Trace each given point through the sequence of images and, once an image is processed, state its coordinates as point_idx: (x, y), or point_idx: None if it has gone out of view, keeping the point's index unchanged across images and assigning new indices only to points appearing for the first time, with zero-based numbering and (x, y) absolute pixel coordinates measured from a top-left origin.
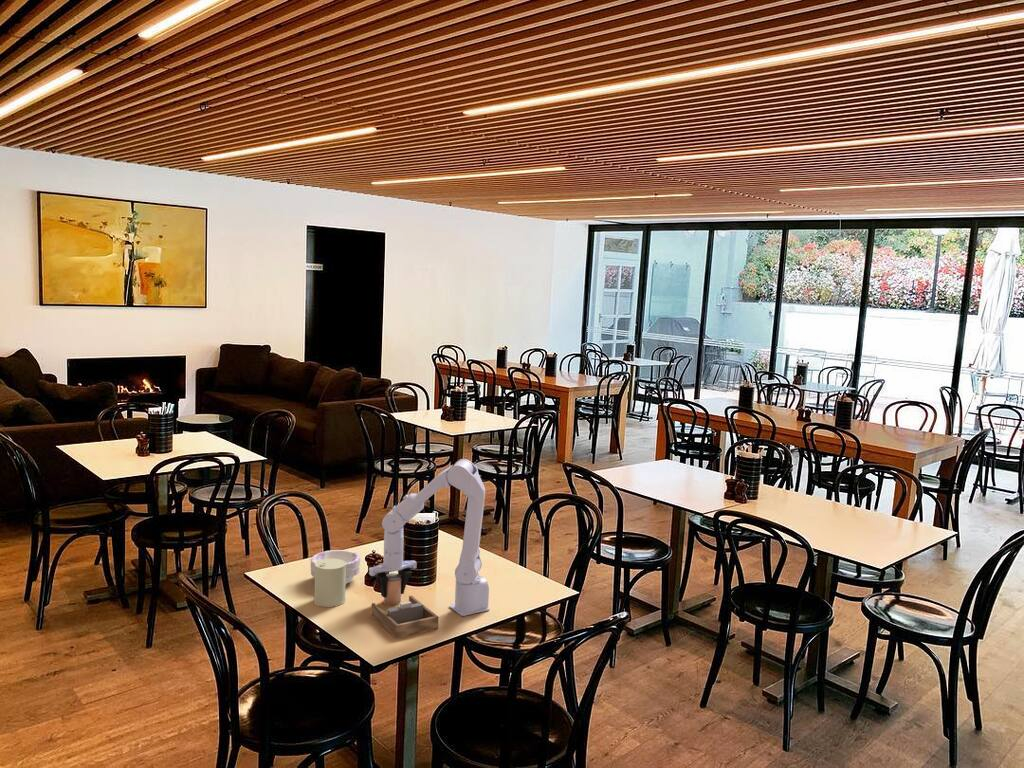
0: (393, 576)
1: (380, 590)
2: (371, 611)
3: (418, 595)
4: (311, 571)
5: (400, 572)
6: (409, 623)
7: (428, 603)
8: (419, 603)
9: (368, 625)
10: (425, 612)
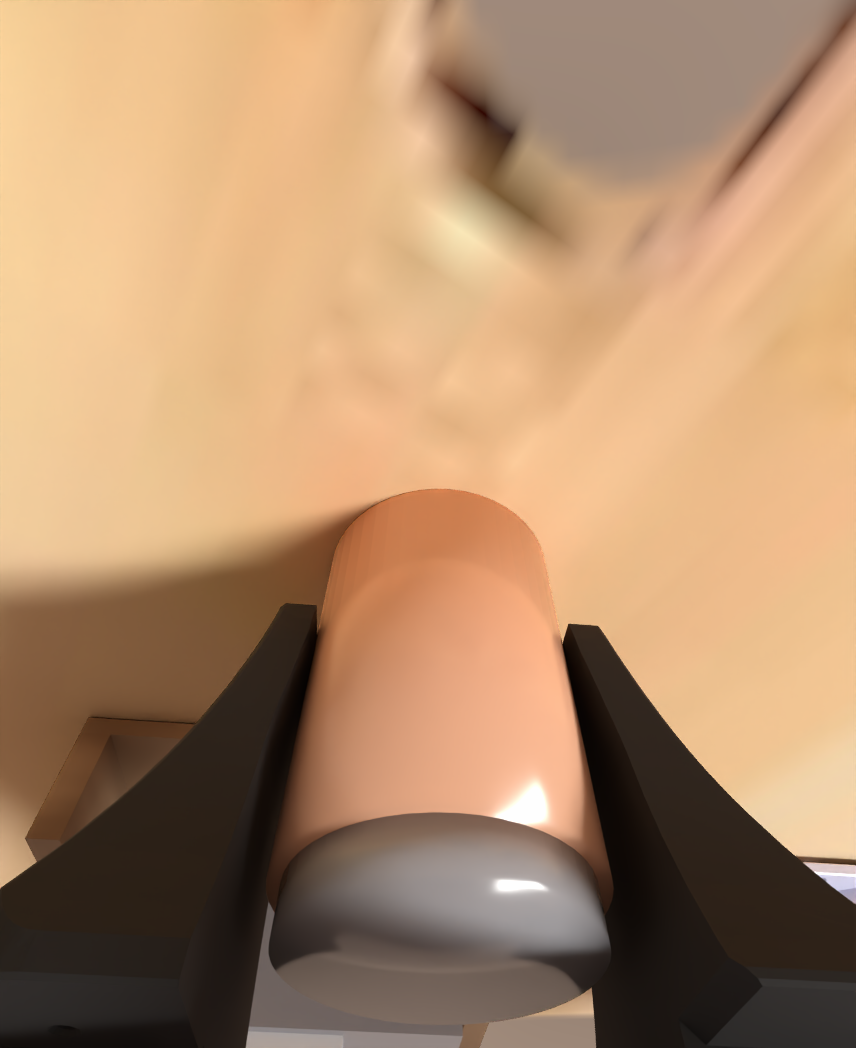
0: (438, 971)
1: (255, 649)
2: (71, 752)
3: (827, 581)
4: None
5: (658, 992)
6: None
7: (723, 756)
8: (442, 1042)
9: (23, 821)
10: None
